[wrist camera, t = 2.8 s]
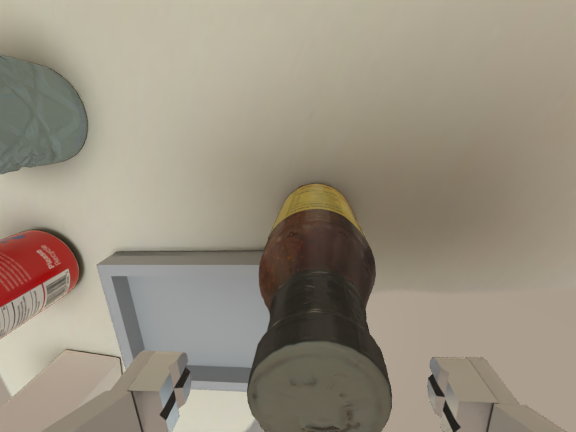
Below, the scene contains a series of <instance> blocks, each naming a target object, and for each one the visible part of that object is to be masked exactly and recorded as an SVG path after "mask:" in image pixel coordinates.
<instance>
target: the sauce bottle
mask: <svg viewBox="0 0 576 432" xmlns="http://www.w3.org/2000/svg"><path fill="white" fill-rule="evenodd" d="M259 264H260V266H259V287H260V292H261V296H262V298H263V299H264V303H265V305H266V306H267V308H268V310H269V313H270V321H269V325H268V328H267V332H266V333H265V334H264V335H263V336H262V338H261V340H260V342H259V343H258V345H257V349H256V353H255V357H254V361H253V364H252V368H251V372H250V376H249V381H248V387H247V397H248V404H249V407H250V410H251V412H252V415H253V416H254V417H255V418H256V420H257V421H258V422H259V424H260V426H261V427H262V429H263V430H264V431H265V432H381V431H382V429H383V428H384V426H385V425H386V423H387V421H388V419H389V416H390V412H391V409H392V393H391V385H390V382H389V378H388V373H387V369H386V365H385V362H384V358H383V355H382V352H381V350H380V348H379V347H378V345H377V344H376V342H375V340H374V339H373V337H372V336H371V335H370V333H369V329H368V325H367V322H366V310H365V309H366V305H367V301H368V299H369V296H370V294H371V291H372V288H373V286H374V282H375V275H376V270H375V261H374V257H373V254H372V251H371V248H370V246H369V244H368V242H367V240H366V238H365V236H364V234H363V232H362V230H361V228H360V226H359V224H358V222H357V220H356V218H355V216H354V214H353V212H352V210H351V208H350V206H349V204H348V202H347V201H346V199H345V198H344V196H343V195H342V194H341V193H339V192H338V191H337V190H335V189H333V188H332V187H330V186H328V185H323V184H310V185H304V186H301V187H299V188H298V189H297V190H295V191H294V192H293V193H291V194H290V196H289V197H288V198H287V199H286V201H285V202H284V204H283V206H282V208H281V211H280V213H279V215H278V217H277V219H276V222H275V224H274V226H273V228H272V230H271V233H270V235H269V237H268V241H267V243H266V246H265V250H264V253H263V255H262V257H261V261H260V263H259Z"/></svg>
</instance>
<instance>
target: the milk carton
mask: <svg viewBox="0 0 576 432" xmlns="http://www.w3.org/2000/svg"><path fill="white" fill-rule="evenodd" d="M121 376H122V374H121V366H120V359H119V358H116V357H110V356H103V355H97V354H90V353H84V352H77V351H70V350H65V351H64V352H62V353H61V354H60V355H59V356H58V357H57V358H56V359H55V360H53V361H52V362H51V363H50V364H49V365H48V366H47V367H46V368H45V369H43V370H42V371H41V372H40V373H39V374H38V375H37V376H36V377H34V378H33V379H32V380H31V381H30V382H29V383H28V384H27V385H26V386H24V387H23V388H22V389H21V390H20V391H19V392H18V393H17V394H15V395H14V396H13V397H12V398H11V399H10V400H9V401H8V402H7V403H5V404H4V405H3V406H2V407H1V408H0V432H41V431H43V430H44V429H46V428H47V427H49V426H50V425H52V424H54V423H55V422H57V421H58V420H60V419H61V418H63V417H65V416H66V415H68V414H69V413H71V412H73V411H74V410H76V409H77V408H79V407H80V406H82V405H84V404H85V403H87V402H88V401H90V400H92V399H93V398H95V397H96V396H98V395H99V394H101V393H103V392H104V391H110V390H111V389H112V388H113V386H114V385H115V384H116V382H117V381H118V380H119V378H120V377H121Z"/></svg>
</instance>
